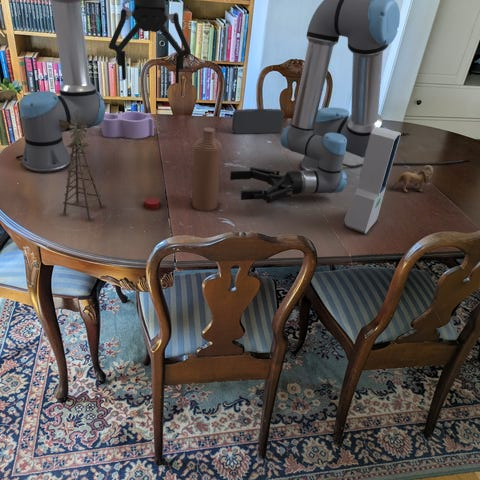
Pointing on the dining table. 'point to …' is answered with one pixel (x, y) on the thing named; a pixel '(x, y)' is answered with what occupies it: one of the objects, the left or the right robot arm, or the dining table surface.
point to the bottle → (206, 171)
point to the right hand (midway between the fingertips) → (235, 185)
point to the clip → (128, 125)
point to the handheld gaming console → (257, 121)
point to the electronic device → (372, 179)
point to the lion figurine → (415, 178)
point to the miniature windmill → (73, 145)
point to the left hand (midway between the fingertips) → (150, 80)
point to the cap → (152, 203)
